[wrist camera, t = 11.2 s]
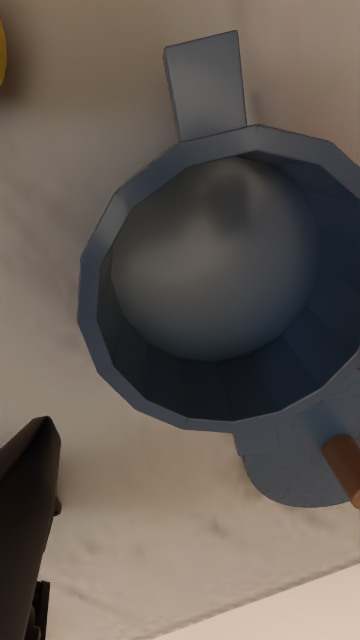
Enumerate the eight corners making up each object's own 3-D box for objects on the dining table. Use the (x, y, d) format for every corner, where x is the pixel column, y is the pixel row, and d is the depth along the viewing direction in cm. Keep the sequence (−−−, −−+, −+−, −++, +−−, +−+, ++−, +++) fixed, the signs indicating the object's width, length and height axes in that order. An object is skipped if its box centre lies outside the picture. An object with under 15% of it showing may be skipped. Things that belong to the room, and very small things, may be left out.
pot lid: (252, 510, 30) (272, 577, 25) (229, 386, 23) (251, 445, 18) (409, 475, 29) (460, 536, 25) (432, 340, 23) (507, 387, 18)
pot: (144, 415, 23) (144, 489, 18) (39, 110, 15) (-19, 83, 10) (329, 373, 23) (382, 436, 18) (330, 40, 15) (431, -26, 9)
